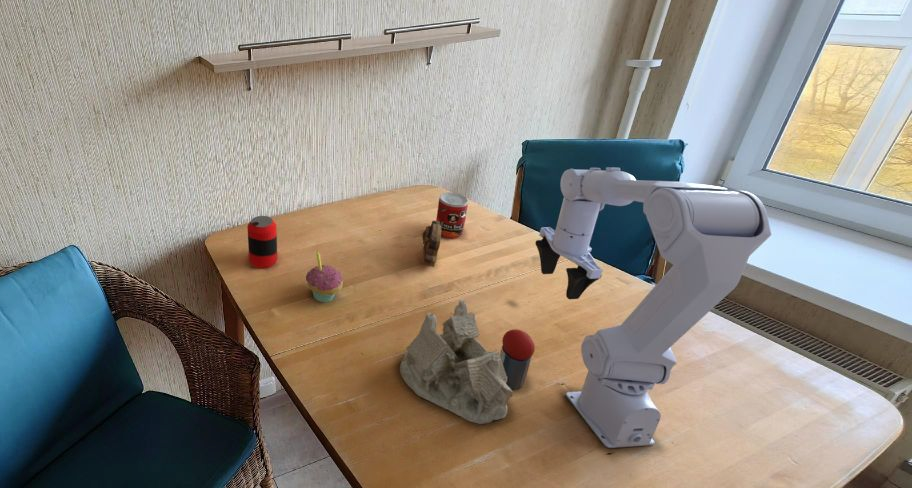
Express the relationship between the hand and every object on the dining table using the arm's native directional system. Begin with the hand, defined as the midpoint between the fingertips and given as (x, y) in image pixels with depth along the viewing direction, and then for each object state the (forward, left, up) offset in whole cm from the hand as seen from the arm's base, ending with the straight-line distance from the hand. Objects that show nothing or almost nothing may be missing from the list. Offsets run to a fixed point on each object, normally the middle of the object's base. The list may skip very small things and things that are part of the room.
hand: (559, 285), depth 87 cm
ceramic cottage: (-12, +27, -11) cm, 32 cm away
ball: (-12, +16, -2) cm, 20 cm away
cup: (-12, +16, -10) cm, 22 cm away
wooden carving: (+25, +16, -11) cm, 32 cm away
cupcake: (+13, +46, -11) cm, 49 cm away
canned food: (+37, +5, -11) cm, 39 cm away
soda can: (+28, +60, -11) cm, 67 cm away
